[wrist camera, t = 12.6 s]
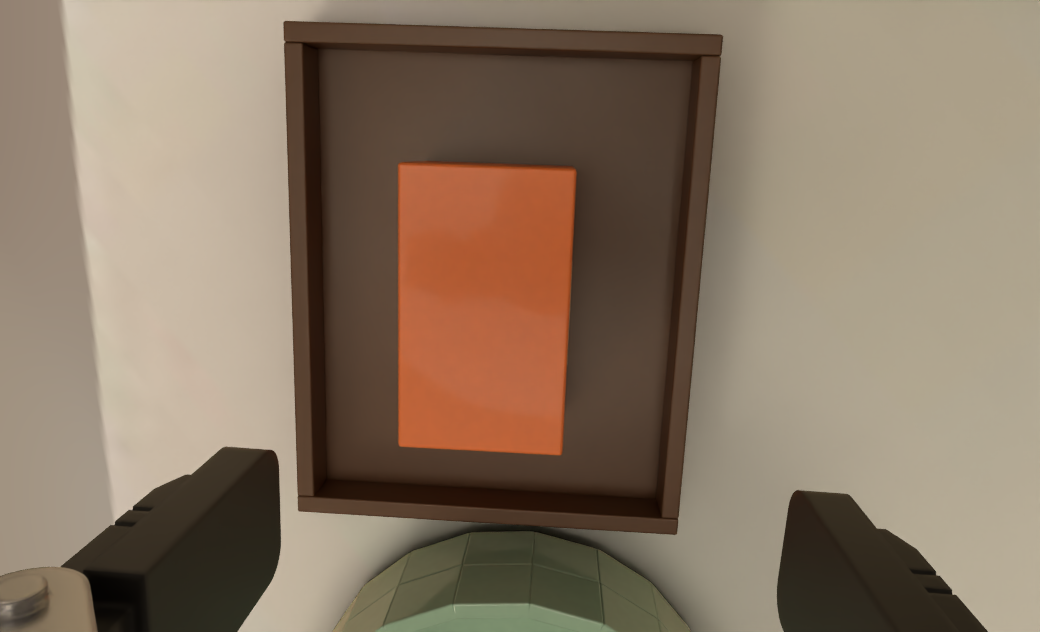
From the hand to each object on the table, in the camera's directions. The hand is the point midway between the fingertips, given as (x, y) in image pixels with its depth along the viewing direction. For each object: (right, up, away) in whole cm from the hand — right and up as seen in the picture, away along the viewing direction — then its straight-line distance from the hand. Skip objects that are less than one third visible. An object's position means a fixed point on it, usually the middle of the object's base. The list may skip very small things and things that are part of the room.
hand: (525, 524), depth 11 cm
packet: (-1, +4, +14) cm, 14 cm away
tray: (-1, +4, +14) cm, 15 cm away
